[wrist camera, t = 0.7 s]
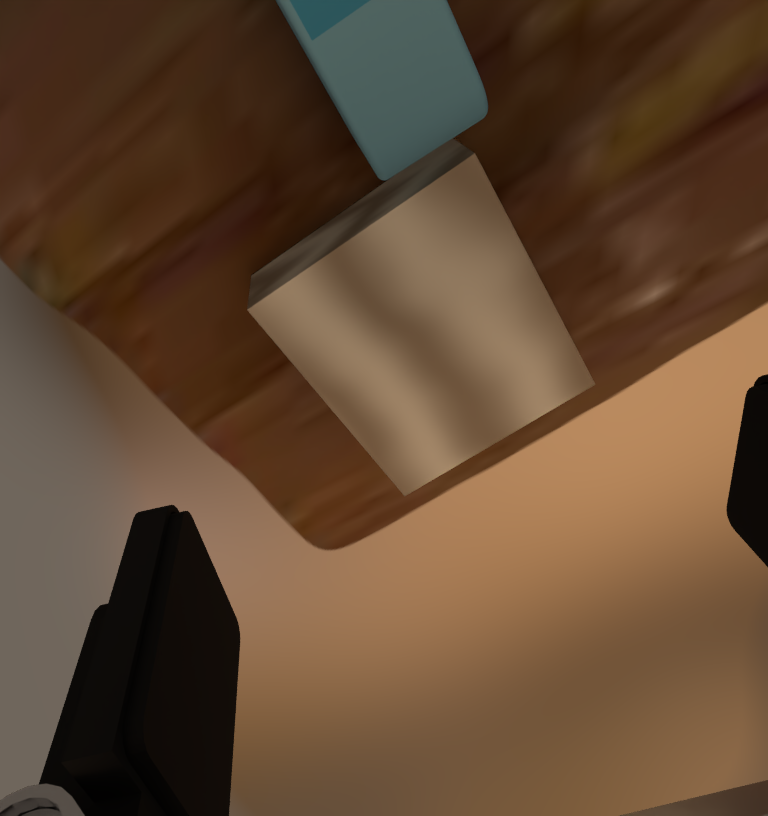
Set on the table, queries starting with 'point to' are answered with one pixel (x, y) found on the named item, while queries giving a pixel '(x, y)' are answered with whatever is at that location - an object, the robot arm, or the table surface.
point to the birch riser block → (421, 320)
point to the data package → (391, 73)
